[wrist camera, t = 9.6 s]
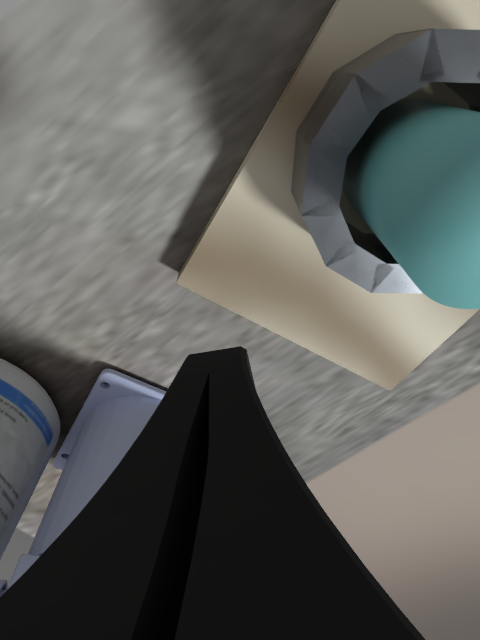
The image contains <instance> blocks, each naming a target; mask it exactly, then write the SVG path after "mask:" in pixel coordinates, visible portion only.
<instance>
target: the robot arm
mask: <svg viewBox="0 0 480 640" xmlns="http://www.w3.org/2000/svg"><path fill="white" fill-rule="evenodd" d="M103 382H106V383H108V384H104V383H103ZM53 465H54V466H55V467H56V468H58V469H61V470H63V471H62V474H61V476H60V478H59V481H58V483H57V486H56V488H55V490H54V493H53V495H52V498H51V500H50V502H49V505H48V507H47V510H46V512H45V514H44V517H43V519H42V521H41V524H40V526H39V529H38V531H37V533H36V536H35V538H34V541H33V543H32V545H31V548H30V550H29V553H28V554H23V555H21V556H20V559H19V561H18V563H17V566H16V568H15V570H14V573H13V575H12V577H11V580H10V582H9V584H8V586H7V580H2V579H0V640H425V639H424V637H423V636H422V635H421V634H420V633H419V632H418V630H417V629H416V628H415V627H414V626H413V624H412V623H411V622H410V621H409V620H408V618H406V616H405V615H404V614H403V613H402V611H401V610H400V609H399V608H398V607H397V605H396V604H395V603H394V602H393V600H392V599H391V598H390V597H389V595H388V594H387V593H386V592H385V590H384V589H383V588H382V587H381V585H380V584H379V583H378V582H377V581H376V579H375V578H374V577H373V575H372V574H371V573H370V572H369V571H368V569H367V568H366V567H365V566H364V564H363V563H362V561H361V560H360V559H359V557H358V556H357V555H356V553H355V552H354V551H353V549H352V548H351V547H350V545H349V544H348V543H347V541H346V540H345V539H344V537H343V536H342V534H341V533H340V532H339V531H338V529H337V528H336V526H335V525H334V524H333V522H332V521H331V520H330V518H329V517H328V516H327V514H326V513H325V512H324V510H323V509H322V507H321V506H320V504H319V503H318V501H317V500H316V498H315V497H314V495H313V494H312V492H311V491H310V489H309V488H308V487H307V485H306V483H305V482H304V480H303V478H302V477H301V475H300V474H299V472H298V471H297V469H296V467H295V466H294V464H293V462H292V461H291V459H290V457H289V456H288V454H287V452H286V451H285V449H284V447H283V445H282V443H281V442H280V440H279V438H278V436H277V434H276V432H275V431H274V429H273V427H272V425H271V423H270V421H269V419H268V417H267V415H266V412H265V410H264V408H263V406H262V404H261V401H260V399H259V397H258V395H257V392H256V389H255V385H254V380H253V376H252V372H251V367H250V363H249V359H248V354H247V350H246V349H244V348H242V347H234V348H228V349H222V350H216V351H209V352H203V353H197V354H190V355H188V357H187V358H186V359H185V361H184V363H183V364H182V366H181V368H180V370H179V371H178V373H177V375H176V377H175V378H174V380H173V382H172V383H171V385H170V387H169V389H168V390H167V392H166V391H164V390H161V389H159V388H157V387H154V386H152V385H149V384H147V383H144V382H142V381H140V380H137V379H135V378H132V377H130V376H127V375H125V374H123V373H120V372H118V371H115V370H113V369H104V370H103V371H102V372H101V373H100V375H99V377H98V379H97V381H96V382H95V384H94V386H93V388H92V390H91V392H90V393H89V395H88V397H87V399H86V401H85V403H84V405H83V406H82V408H81V410H80V412H79V414H78V416H77V418H76V419H75V421H74V423H73V425H72V427H71V429H70V431H69V432H68V434H67V436H66V438H65V440H64V442H63V444H62V445H61V447H60V449H59V451H58V453H57V455H56V456H55V458H54V461H53ZM6 588H7V589H6Z"/></svg>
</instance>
